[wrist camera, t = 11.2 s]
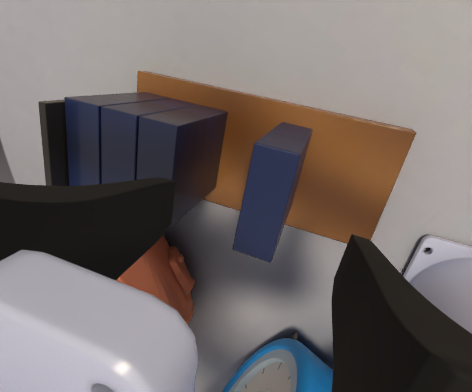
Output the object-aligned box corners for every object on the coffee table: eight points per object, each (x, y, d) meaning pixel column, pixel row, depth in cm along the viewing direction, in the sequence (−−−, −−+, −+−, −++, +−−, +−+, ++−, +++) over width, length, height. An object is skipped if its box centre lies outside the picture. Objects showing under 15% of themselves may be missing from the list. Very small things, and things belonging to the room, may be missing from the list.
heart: (45, 209, 20) (35, 339, 27) (204, 287, 20) (153, 400, 27) (101, 178, 26) (80, 294, 33) (228, 239, 25) (180, 344, 32)
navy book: (290, 207, 21) (270, 263, 14) (262, 199, 21) (231, 250, 15) (313, 128, 18) (300, 154, 12) (281, 121, 19) (254, 142, 13)
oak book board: (365, 242, 21) (382, 343, 13) (140, 174, 25) (46, 220, 17) (413, 129, 18) (475, 170, 10) (145, 71, 21) (31, 66, 13)
